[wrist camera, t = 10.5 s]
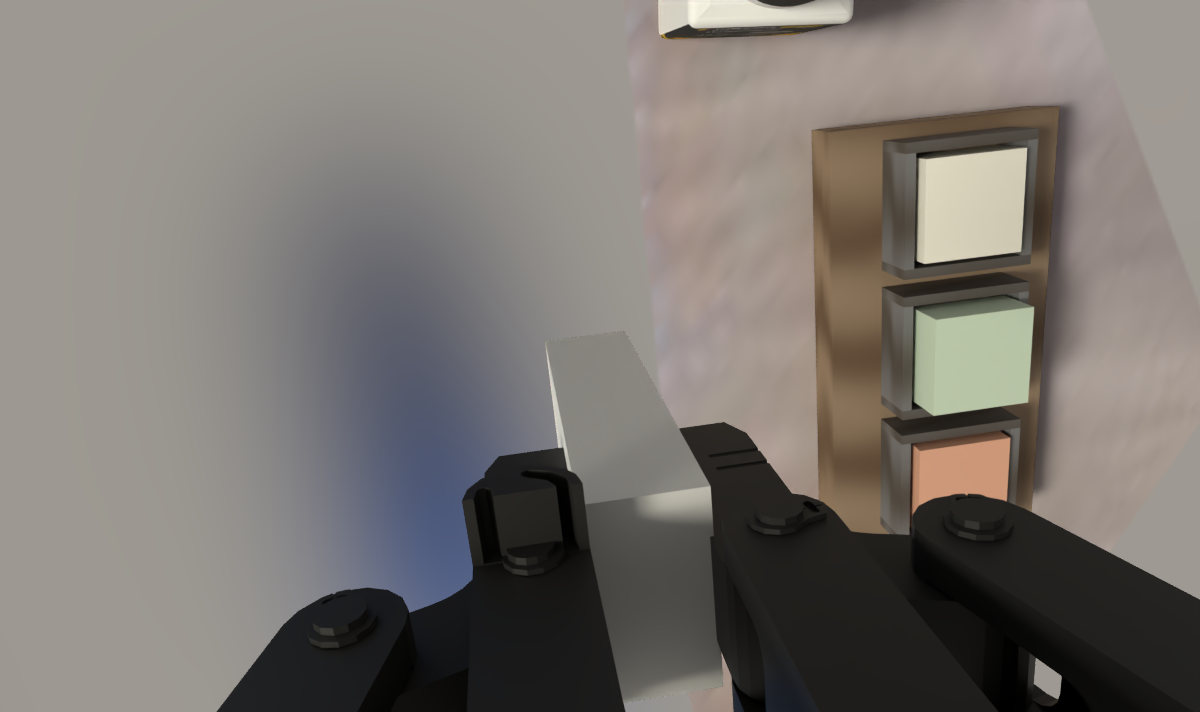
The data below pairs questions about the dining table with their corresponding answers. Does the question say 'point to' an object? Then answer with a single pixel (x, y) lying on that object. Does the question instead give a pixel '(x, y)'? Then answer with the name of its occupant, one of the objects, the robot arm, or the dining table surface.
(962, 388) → the sage button
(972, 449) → the terracotta button
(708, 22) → the medicine bottle
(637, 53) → the dining table surface
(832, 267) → the button panel
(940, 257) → the cream button
